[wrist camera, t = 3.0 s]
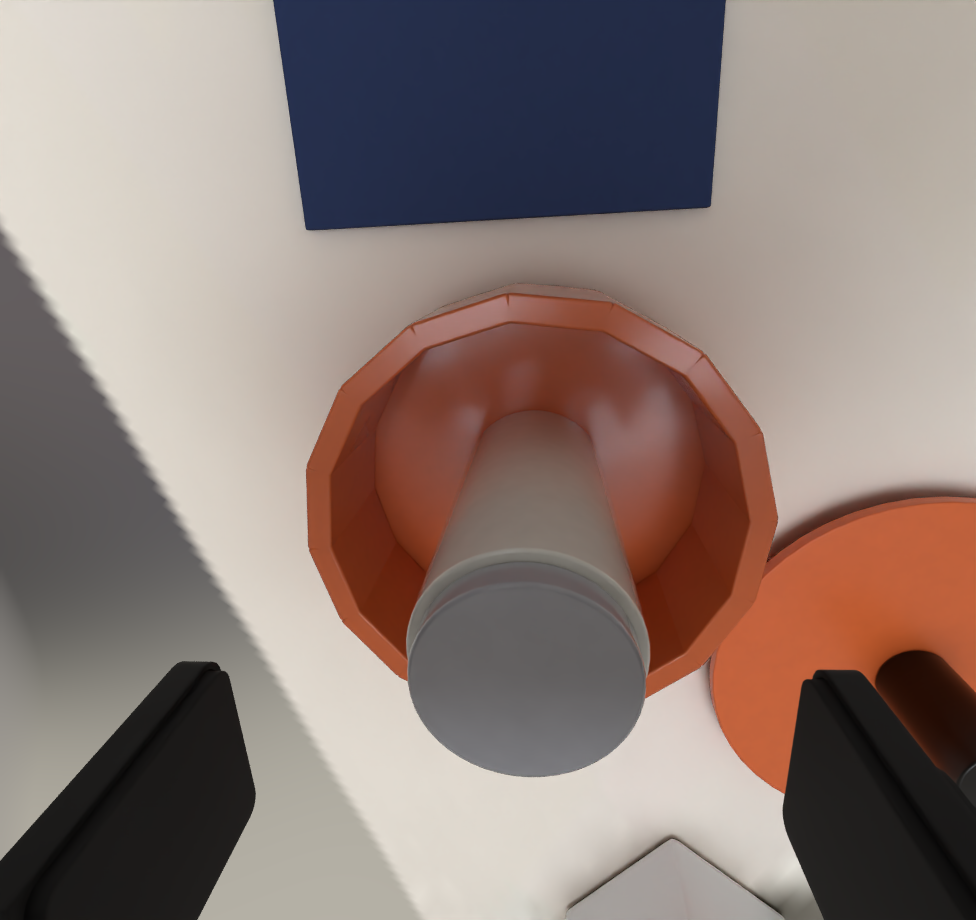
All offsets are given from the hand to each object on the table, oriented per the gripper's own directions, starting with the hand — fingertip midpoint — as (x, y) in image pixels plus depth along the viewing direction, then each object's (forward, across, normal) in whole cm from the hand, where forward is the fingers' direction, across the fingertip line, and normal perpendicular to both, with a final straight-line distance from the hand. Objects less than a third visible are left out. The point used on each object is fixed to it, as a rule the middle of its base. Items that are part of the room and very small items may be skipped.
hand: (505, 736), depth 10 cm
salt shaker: (+11, 0, 0) cm, 11 cm away
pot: (+12, 0, 0) cm, 12 cm away
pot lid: (+11, -13, +7) cm, 19 cm away
